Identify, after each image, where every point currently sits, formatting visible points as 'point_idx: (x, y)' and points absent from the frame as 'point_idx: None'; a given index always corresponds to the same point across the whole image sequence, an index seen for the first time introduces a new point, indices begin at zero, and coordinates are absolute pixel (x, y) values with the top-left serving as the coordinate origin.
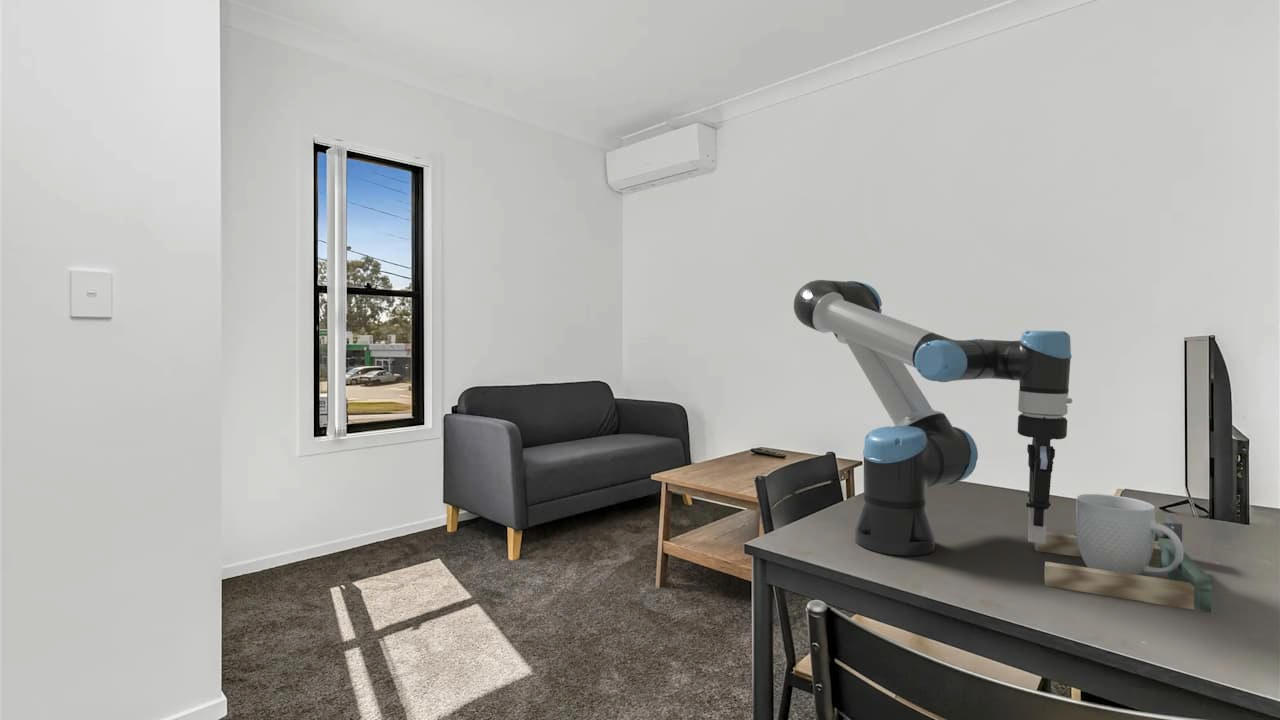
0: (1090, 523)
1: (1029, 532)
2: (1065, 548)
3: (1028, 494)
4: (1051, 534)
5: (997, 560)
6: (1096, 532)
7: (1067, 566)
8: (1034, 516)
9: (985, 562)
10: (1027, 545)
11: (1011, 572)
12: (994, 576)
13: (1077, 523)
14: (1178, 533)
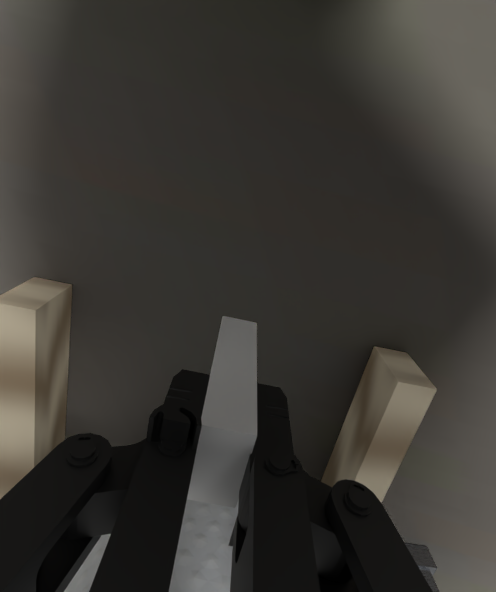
0: (92, 580)
1: (219, 338)
2: (353, 427)
3: (350, 500)
4: (388, 425)
5: (238, 188)
6: (88, 555)
7: (14, 365)
8: (165, 402)
9: (200, 134)
10: (430, 337)
11: (120, 204)
12: (49, 128)
13: (183, 537)
14: None
